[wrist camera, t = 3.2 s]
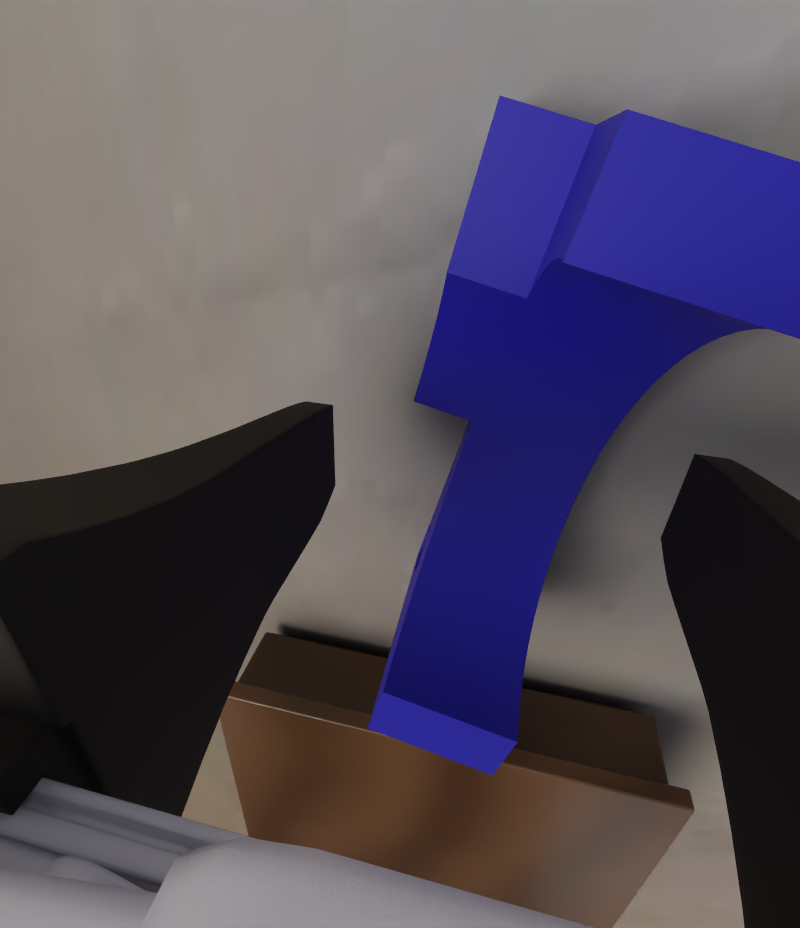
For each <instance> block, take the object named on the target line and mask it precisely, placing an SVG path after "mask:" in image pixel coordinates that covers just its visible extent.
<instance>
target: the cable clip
mask: <svg viewBox="0 0 800 928" xmlns="http://www.w3.org/2000/svg"><path fill="white" fill-rule="evenodd" d="M757 328H759V329H771V330H774V331H777V332H780V333H783V334H786V335H789V336H793V337H796V338H799V339H800V162H797V161H794V160H791V159H788V158H784V157H781V156H778V155H774V154H771V153H768V152H765V151H761V150H758V149H755V148H752V147H748V146H745V145H742V144H738V143H735V142H732V141H729V140H725V139H722V138H719V137H716V136H712V135H709V134H706V133H702V132H699V131H696V130H693V129H689V128H686V127H683V126H680V125H676V124H673V123H670V122H666V121H663V120H660V119H657V118H653V117H650V116H647V115H644V114H640V113H637V112H634V111H631V110H625V111H623V112H621V113H619V114H617V115H615V116H613V117H611V118H609V119H607V120H605V121H603V122H601V123H599V124H597V125H594V124H591V123H587V122H584V121H581V120H578V119H574V118H571V117H568V116H565V115H561V114H558V113H555V112H552V111H548V110H545V109H542V108H539V107H535V106H532V105H529V104H526V103H522V102H519V101H516V100H513V99H509V98H506V97H503V96H500V97H499V100H498V103H497V107H496V110H495V113H494V117H493V120H492V123H491V127H490V130H489V133H488V137H487V140H486V144H485V147H484V150H483V154H482V157H481V160H480V164H479V167H478V170H477V174H476V177H475V180H474V184H473V187H472V190H471V194H470V197H469V200H468V204H467V207H466V210H465V214H464V217H463V220H462V224H461V227H460V230H459V234H458V237H457V240H456V244H455V247H454V250H453V254H452V257H451V260H450V264H449V267H448V271H447V275H446V280H445V285H444V290H443V294H442V299H441V303H440V307H439V312H438V316H437V320H436V324H435V328H434V331H433V335H432V339H431V343H430V347H429V350H428V354H427V357H426V361H425V364H424V368H423V371H422V375H421V378H420V382H419V385H418V388H417V392H416V395H415V398H414V402H417V403H420V404H423V405H426V406H429V407H432V408H435V409H438V410H441V411H444V412H447V413H450V414H453V415H455V416H458V417H461V418H464V419H467V420H470V421H469V423H468V426H467V429H466V431H465V434H464V436H463V439H462V442H461V444H460V447H459V449H458V452H457V455H456V457H455V460H454V462H453V465H452V468H451V470H450V473H449V475H448V478H447V481H446V483H445V486H444V488H443V491H442V494H441V496H440V499H439V501H438V504H437V507H436V509H435V512H434V514H433V517H432V520H431V522H430V525H429V527H428V530H427V533H426V535H425V538H424V540H423V543H422V546H421V548H420V551H419V553H418V556H417V559H416V563H415V566H414V570H413V573H412V577H411V580H410V584H409V587H408V590H407V594H406V597H405V601H404V604H403V608H402V611H401V615H400V618H399V622H398V625H397V629H396V632H395V636H394V639H393V642H392V646H391V649H390V653H389V656H388V660H387V663H386V667H385V670H384V674H383V677H382V681H381V684H380V687H379V691H378V694H377V698H376V701H375V705H374V708H373V712H372V715H371V719H370V722H369V726H368V729H371V730H373V731H376V732H379V733H381V734H384V735H387V736H389V737H392V738H395V739H397V740H400V741H403V742H405V743H408V744H411V745H413V746H416V747H418V748H421V749H424V750H426V751H429V752H432V753H434V754H437V755H440V756H442V757H445V758H448V759H450V760H453V761H456V762H458V763H461V764H464V765H466V766H469V767H472V768H474V769H477V770H480V771H482V772H485V773H488V774H490V775H493V774H494V773H495V771H496V770H497V769H498V767H499V766H500V765H501V763H502V762H503V761H504V759H505V758H506V757H507V755H508V754H509V753H510V751H511V750H512V749H513V747H514V746H515V745H516V744H517V742H518V720H519V708H520V697H521V689H522V681H523V673H524V667H525V661H526V655H527V649H528V644H529V639H530V634H531V629H532V625H533V621H534V616H535V612H536V608H537V604H538V601H539V597H540V593H541V590H542V586H543V583H544V579H545V576H546V573H547V570H548V567H549V564H550V561H551V558H552V555H553V552H554V550H555V547H556V544H557V541H558V539H559V536H560V534H561V531H562V529H563V526H564V524H565V521H566V519H567V517H568V515H569V512H570V510H571V508H572V505H573V503H574V501H575V499H576V497H577V495H578V493H579V491H580V489H581V487H582V485H583V483H584V481H585V479H586V477H587V475H588V473H589V471H590V470H591V468H592V466H593V464H594V463H595V461H596V459H597V458H598V456H599V454H600V453H601V451H602V449H603V448H604V446H605V445H606V443H607V441H608V440H609V438H610V437H611V435H612V434H613V433H614V431H615V430H616V428H617V427H618V425H619V424H620V422H621V421H622V420H623V419H624V417H625V416H626V415H627V413H628V412H629V411H630V409H631V408H632V407H633V406H634V405H635V403H636V402H637V401H638V400H639V399H640V398H641V397H642V395H643V394H644V393H645V392H646V391H647V390H648V389H649V388H650V387H651V386H652V385H653V384H654V383H655V382H656V381H657V380H658V379H659V378H660V377H661V376H662V375H663V374H664V373H666V372H667V371H668V370H669V369H670V368H671V367H672V366H674V365H675V364H676V363H678V362H679V361H680V360H682V359H683V358H684V357H685V356H687V355H688V354H690V353H692V352H693V351H695V350H696V349H698V348H700V347H701V346H703V345H705V344H707V343H709V342H711V341H713V340H715V339H717V338H720V337H722V336H725V335H729V334H732V333H735V332H738V331H744V330H750V329H757Z"/></svg>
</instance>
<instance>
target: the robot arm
mask: <svg viewBox="0 0 800 928" xmlns="http://www.w3.org/2000/svg"><path fill="white" fill-rule="evenodd" d="M334 487H335V461H334V429H333V405H328V404H321V403H313V402H302V403H298V404H295V405H292V406H289V407H286V408H284V409H281V410H279V411H276V412H274V413H271V414H269V415H266V416H264V417H262V418H259V419H257V420H254V421H252V422H249V423H247V424H245V425H242V426H240V427H237V428H235V429H232V430H230V431H227V432H224V433H222V434H219V435H216V436H213V437H211V438H208V439H205V440H202V441H200V442H197V443H194V444H192V445H189V446H186V447H183V448H180V449H176V450H173V451H170V452H167V453H163V454H160V455H156V456H152V457H149V458H145V459H141V460H138V461H134V462H130V463H125V464H121V465H116V466H111V467H106V468H101V469H96V470H91V471H86V472H82V473H77V474H72V475H66V476H60V477H53V478H47V479H40V480H33V481H25V482H17V483H9V484H1V485H0V928H593V927H590V926H586V925H583V924H579V923H576V922H572V921H569V920H565V919H562V918H558V917H555V916H551V915H548V914H544V913H541V912H537V911H534V910H530V909H527V908H523V907H520V906H516V905H513V904H509V903H506V902H502V901H499V900H495V899H492V898H488V897H485V896H481V895H478V894H474V893H471V892H467V891H463V890H460V889H456V888H453V887H449V886H446V885H442V884H439V883H435V882H432V881H428V880H425V879H421V878H418V877H414V876H411V875H407V874H404V873H400V872H397V871H393V870H390V869H386V868H383V867H379V866H376V865H372V864H369V863H365V862H362V861H358V860H355V859H351V858H348V857H344V856H341V855H337V854H334V853H330V852H327V851H323V850H320V849H315V848H309V847H303V846H297V845H290V844H284V843H278V842H272V841H265V840H259V839H256V838H252V837H249V836H245V835H242V834H238V833H235V832H231V831H228V830H224V829H221V828H217V827H214V826H210V825H207V824H203V823H200V822H196V821H193V820H189V819H186V818H183V817H181V816H182V813H183V811H184V808H185V805H186V803H187V800H188V797H189V795H190V792H191V789H192V787H193V784H194V781H195V779H196V776H197V773H198V770H199V768H200V765H201V762H202V760H203V757H204V755H205V752H206V750H207V747H208V745H209V742H210V740H211V737H212V735H213V732H214V730H215V728H216V725H217V723H218V720H219V718H220V715H221V713H222V710H223V708H224V705H225V703H226V700H227V698H228V696H229V694H230V691H231V689H232V687H233V684H234V682H235V680H236V677H237V675H238V673H239V670H240V668H241V666H242V664H243V661H244V659H245V657H246V655H247V652H248V650H249V648H250V646H251V644H252V642H253V639H254V637H255V635H256V633H257V631H258V629H259V626H260V624H261V622H262V620H263V618H264V616H265V614H266V612H267V610H268V609H269V607H270V605H271V603H272V601H273V599H274V598H275V596H276V594H277V593H278V591H279V589H280V588H281V586H282V584H283V583H284V581H285V579H286V578H287V576H288V575H289V573H290V571H291V570H292V568H293V566H294V565H295V563H296V561H297V560H298V558H299V556H300V555H301V553H302V551H303V550H304V548H305V547H306V545H307V543H308V541H309V540H310V538H311V536H312V535H313V533H314V531H315V530H316V528H317V526H318V524H319V523H320V521H321V519H322V516H323V514H324V512H325V509H326V507H327V505H328V502H329V500H330V497H331V495H332V492H333V490H334ZM661 543H662V550H663V557H664V564H665V570H666V576H667V581H668V585H669V588H670V591H671V595H672V598H673V601H674V604H675V607H676V610H677V613H678V617H679V620H680V623H681V626H682V629H683V632H684V635H685V638H686V641H687V644H688V647H689V650H690V653H691V656H692V659H693V662H694V665H695V668H696V671H697V674H698V677H699V680H700V683H701V686H702V690H703V693H704V697H705V700H706V704H707V707H708V711H709V716H710V720H711V725H712V730H713V735H714V740H715V745H716V749H717V754H718V759H719V764H720V769H721V775H722V781H723V786H724V792H725V797H726V803H727V809H728V814H729V820H730V826H731V832H732V839H733V846H734V852H735V859H736V866H737V873H738V880H739V887H740V894H741V900H742V908H743V917H744V926H745V928H800V501H799V500H797V499H796V498H794V497H793V496H791V495H790V494H788V493H786V492H785V491H783V490H782V489H780V488H779V487H777V486H776V485H774V484H773V483H771V482H770V481H768V480H766V479H765V478H763V477H762V476H760V475H758V474H757V473H755V472H753V471H752V470H750V469H748V468H747V467H745V466H743V465H741V464H739V463H737V462H735V461H733V460H731V459H727V458H719V457H712V456H704V455H697V454H694V457H693V459H692V462H691V464H690V467H689V469H688V472H687V474H686V477H685V479H684V482H683V484H682V487H681V489H680V492H679V494H678V497H677V499H676V502H675V504H674V506H673V509H672V511H671V514H670V516H669V519H668V521H667V524H666V526H665V529H664V531H663V534H662V536H661Z"/></svg>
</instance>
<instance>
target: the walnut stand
mask: <svg viewBox="0 0 800 928" xmlns="http://www.w3.org/2000/svg"><path fill="white" fill-rule="evenodd" d="M387 660H388V657H385V656H381V655H376V654H372V653H367V652H362V651H358V650H353V649H349V648H344V647H340V646H335V645H330V644H326V643H321V642H317V641H312V640H308V639H303V638H298V637H294V636H289V635H287V636H283V635H278V634H273V633H269V632H266V633H265V635H264V637H263V638H262V640H261V642H260V644H259V645H258V647H257V649H256V651H255V653H254V654H253V656H252V658H251V660H250V661H249V663H248V665H247V667H246V669H245V670H244V672H243V674H242V676H241V677H240V679H239V681H238V682H234V684H233V687H232V689H231V691H230V694H229V696H228V698H227V700H226V703H225V705H224V708H223V710H222V713H221V715H220V722H221V726H222V730H223V734H224V738H225V742H226V746H227V750H228V755H229V759H230V763H231V767H232V771H233V775H234V779H235V783H236V787H237V791H238V795H239V800H240V804H241V808H242V812H243V816H244V820H245V824H246V828H247V832H248V836H249V837H252V838H256V839H259V840H265V841H272V842H278V843H284V844H290V845H297V846H303V847H309V848H315V849H320V850H323V851H327V852H330V853H334V854H337V855H341V856H344V857H348V858H351V859H355V860H358V861H362V862H365V863H369V864H372V865H376V866H379V867H383V868H386V869H390V870H393V871H397V872H400V873H404V874H407V875H411V876H414V877H418V878H421V879H425V880H428V881H432V882H435V883H439V884H442V885H446V886H449V887H453V888H456V889H460V890H463V891H467V892H471V893H474V894H478V895H481V896H485V897H488V898H492V899H495V900H499V901H502V902H506V903H509V904H513V905H516V906H520V907H523V908H527V909H530V910H534V911H537V912H541V913H544V914H548V915H551V916H555V917H558V918H562V919H565V920H569V921H572V922H576V923H579V924H583V925H586V926H590V927H593V928H613V926H614V925H615V923H616V922H617V921H618V919H619V918H620V916H621V915H622V913H623V912H624V911H625V909H626V908H627V906H628V905H629V903H630V902H631V901H632V899H633V898H634V896H635V895H636V893H637V892H638V891H639V889H640V888H641V886H642V885H643V883H644V882H645V881H646V879H647V878H648V876H649V875H650V874H651V872H652V871H653V869H654V868H655V866H656V865H657V864H658V862H659V861H660V859H661V858H662V856H663V855H664V854H665V852H666V851H667V849H668V848H669V846H670V845H671V844H672V842H673V841H674V839H675V838H676V836H677V835H678V834H679V832H680V831H681V829H682V828H683V826H684V825H685V824H686V822H687V821H688V819H689V818H690V816H691V815H692V814H693V812H694V806H693V802H692V798H691V794H690V791H689V790H687V789H683V788H679V787H675V786H670V785H669V784H668V780H667V775H666V770H665V766H664V761H663V757H662V752H661V747H660V743H659V738H658V733H657V729H656V724H655V719H654V717H652V716H648V715H643V714H639V713H634V712H629V710H627V709H623V708H619V707H614V706H610V705H605V704H600V703H596V702H591V701H587V700H582V699H577V698H573V697H568V696H564V695H559V694H555V693H550V692H545V691H541V690H536V689H532V688H527V687H523V686H522V689H521V697H520V708H519V720H518V742H517V744H516V745H515V746H514V747H513V749H512V750H511V751H510V753H509V754H508V755H507V757H506V758H505V759H504V761H503V762H502V763H501V765H500V766H499V767H498V769H497V770H496V771H495V773H494V774H493V775H490V774H488V773H485V772H482V771H480V770H477V769H474V768H472V767H469V766H466V765H464V764H461V763H458V762H456V761H453V760H450V759H448V758H445V757H442V756H440V755H437V754H434V753H432V752H429V751H426V750H424V749H421V748H418V747H416V746H413V745H411V744H408V743H405V742H403V741H400V740H397V739H395V738H392V737H389V736H387V735H384V734H381V733H379V732H376V731H373V730H371V729H368V726H369V722H370V719H371V715H372V712H373V708H374V705H375V701H376V698H377V694H378V691H379V687H380V684H381V681H382V677H383V674H384V670H385V667H386V663H387Z"/></svg>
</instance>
